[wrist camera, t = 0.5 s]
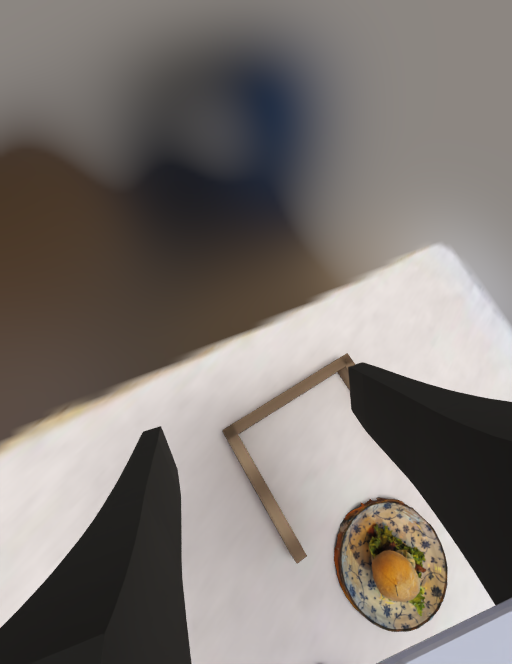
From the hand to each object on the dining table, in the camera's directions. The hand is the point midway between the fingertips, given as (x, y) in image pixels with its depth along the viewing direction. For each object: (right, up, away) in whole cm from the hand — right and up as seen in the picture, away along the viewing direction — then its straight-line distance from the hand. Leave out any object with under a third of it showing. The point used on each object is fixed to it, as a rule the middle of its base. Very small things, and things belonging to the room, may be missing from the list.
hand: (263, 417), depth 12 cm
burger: (+14, -22, +24) cm, 35 cm away
